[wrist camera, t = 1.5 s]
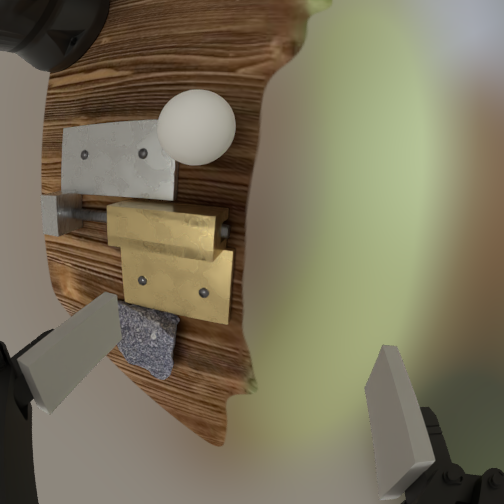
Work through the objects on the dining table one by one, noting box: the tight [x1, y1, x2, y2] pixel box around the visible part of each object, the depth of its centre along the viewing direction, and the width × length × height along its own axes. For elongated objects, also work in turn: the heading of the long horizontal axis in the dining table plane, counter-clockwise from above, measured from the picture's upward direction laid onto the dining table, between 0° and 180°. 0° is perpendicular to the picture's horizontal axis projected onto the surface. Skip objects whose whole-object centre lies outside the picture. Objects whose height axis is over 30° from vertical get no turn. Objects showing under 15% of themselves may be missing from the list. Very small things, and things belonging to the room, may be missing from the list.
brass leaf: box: [107, 199, 235, 325], centre depth 31 cm, size 13×14×5 cm
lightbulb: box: [157, 89, 236, 165], centre depth 23 cm, size 6×6×11 cm
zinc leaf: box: [41, 120, 230, 239], centre depth 29 cm, size 14×24×5 cm, turn 85°
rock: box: [117, 301, 180, 380], centre depth 36 cm, size 12×5×10 cm
